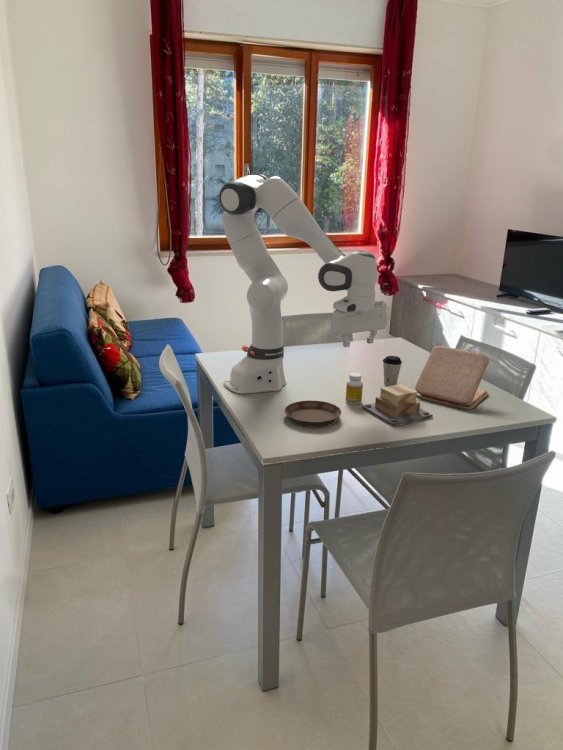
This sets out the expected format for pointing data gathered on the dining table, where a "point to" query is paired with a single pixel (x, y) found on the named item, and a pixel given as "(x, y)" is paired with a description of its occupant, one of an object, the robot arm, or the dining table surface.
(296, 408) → the plant saucer
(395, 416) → the tower
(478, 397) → the case
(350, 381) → the supplement bottle
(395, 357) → the coffee cup
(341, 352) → the dining table surface
